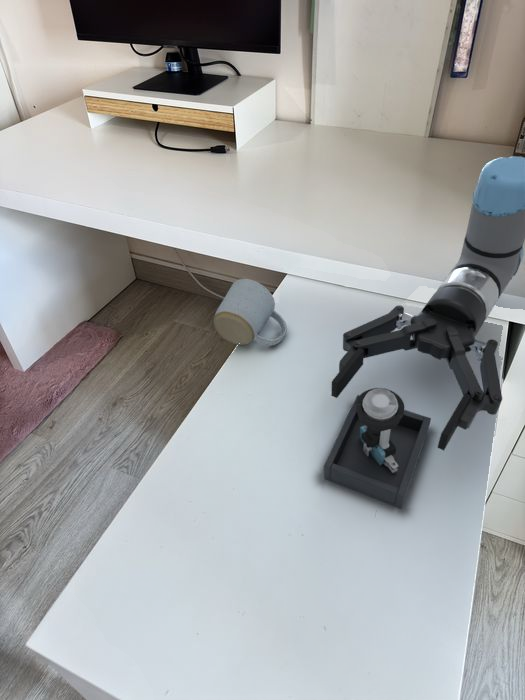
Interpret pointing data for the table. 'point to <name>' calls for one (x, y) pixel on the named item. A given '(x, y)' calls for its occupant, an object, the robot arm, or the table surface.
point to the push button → (379, 423)
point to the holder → (364, 471)
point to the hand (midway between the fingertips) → (385, 415)
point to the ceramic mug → (247, 314)
